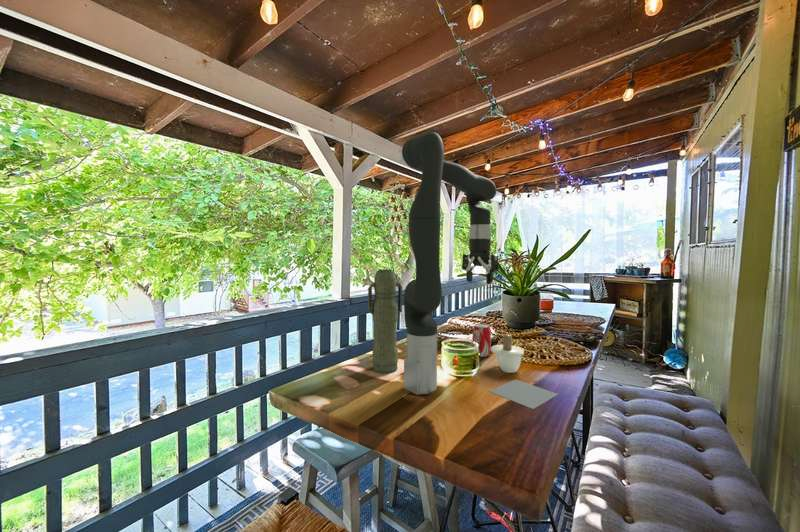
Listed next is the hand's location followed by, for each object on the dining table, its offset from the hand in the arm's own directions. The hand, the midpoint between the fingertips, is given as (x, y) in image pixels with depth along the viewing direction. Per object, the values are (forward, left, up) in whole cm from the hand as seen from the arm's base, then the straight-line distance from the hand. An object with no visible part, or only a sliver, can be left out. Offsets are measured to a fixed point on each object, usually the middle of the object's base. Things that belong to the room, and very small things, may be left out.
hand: (479, 282), depth 122 cm
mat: (-10, -24, -30) cm, 40 cm away
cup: (+3, -10, -30) cm, 32 cm away
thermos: (-29, +18, -30) cm, 46 cm away
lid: (+3, -10, -23) cm, 26 cm away
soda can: (+10, +6, -30) cm, 32 cm away
